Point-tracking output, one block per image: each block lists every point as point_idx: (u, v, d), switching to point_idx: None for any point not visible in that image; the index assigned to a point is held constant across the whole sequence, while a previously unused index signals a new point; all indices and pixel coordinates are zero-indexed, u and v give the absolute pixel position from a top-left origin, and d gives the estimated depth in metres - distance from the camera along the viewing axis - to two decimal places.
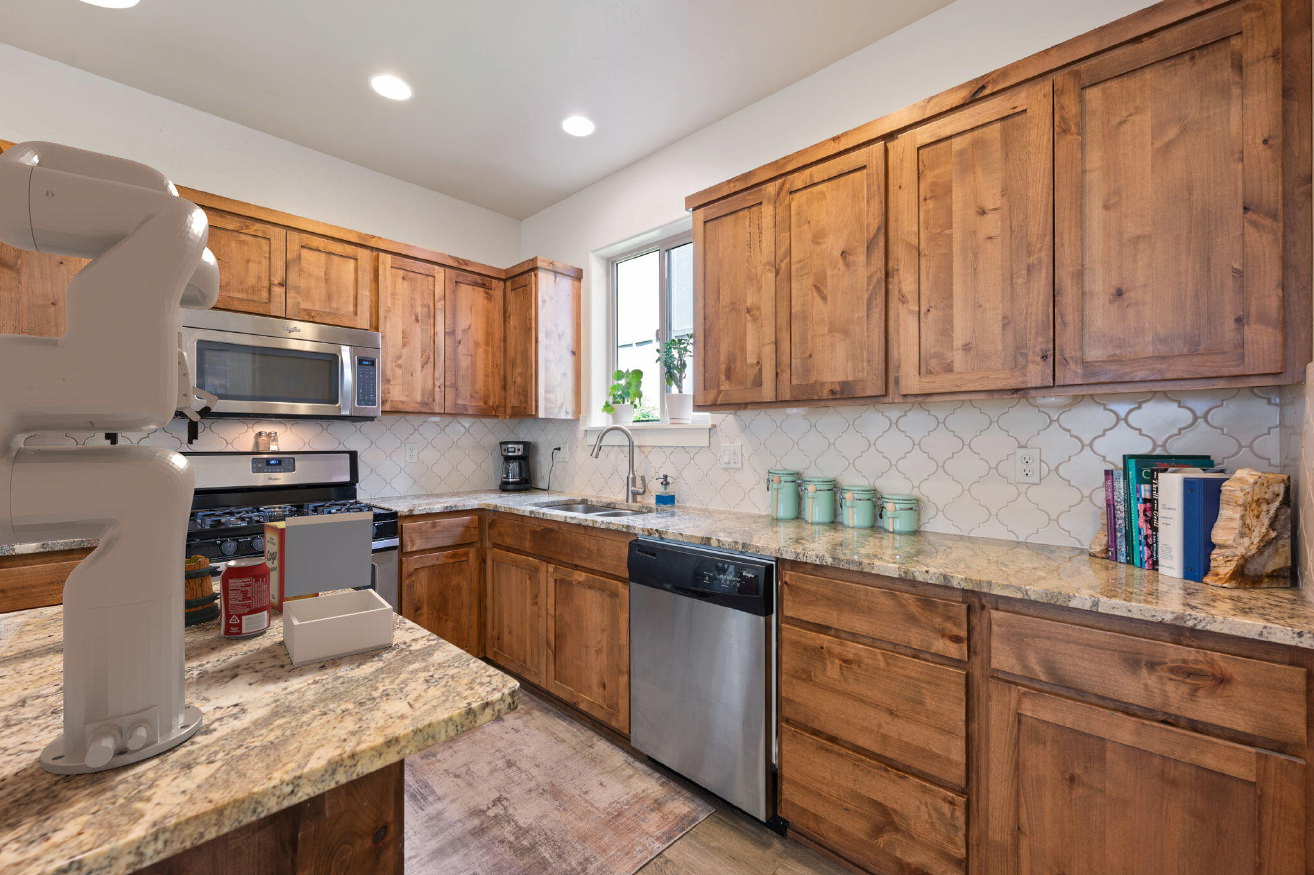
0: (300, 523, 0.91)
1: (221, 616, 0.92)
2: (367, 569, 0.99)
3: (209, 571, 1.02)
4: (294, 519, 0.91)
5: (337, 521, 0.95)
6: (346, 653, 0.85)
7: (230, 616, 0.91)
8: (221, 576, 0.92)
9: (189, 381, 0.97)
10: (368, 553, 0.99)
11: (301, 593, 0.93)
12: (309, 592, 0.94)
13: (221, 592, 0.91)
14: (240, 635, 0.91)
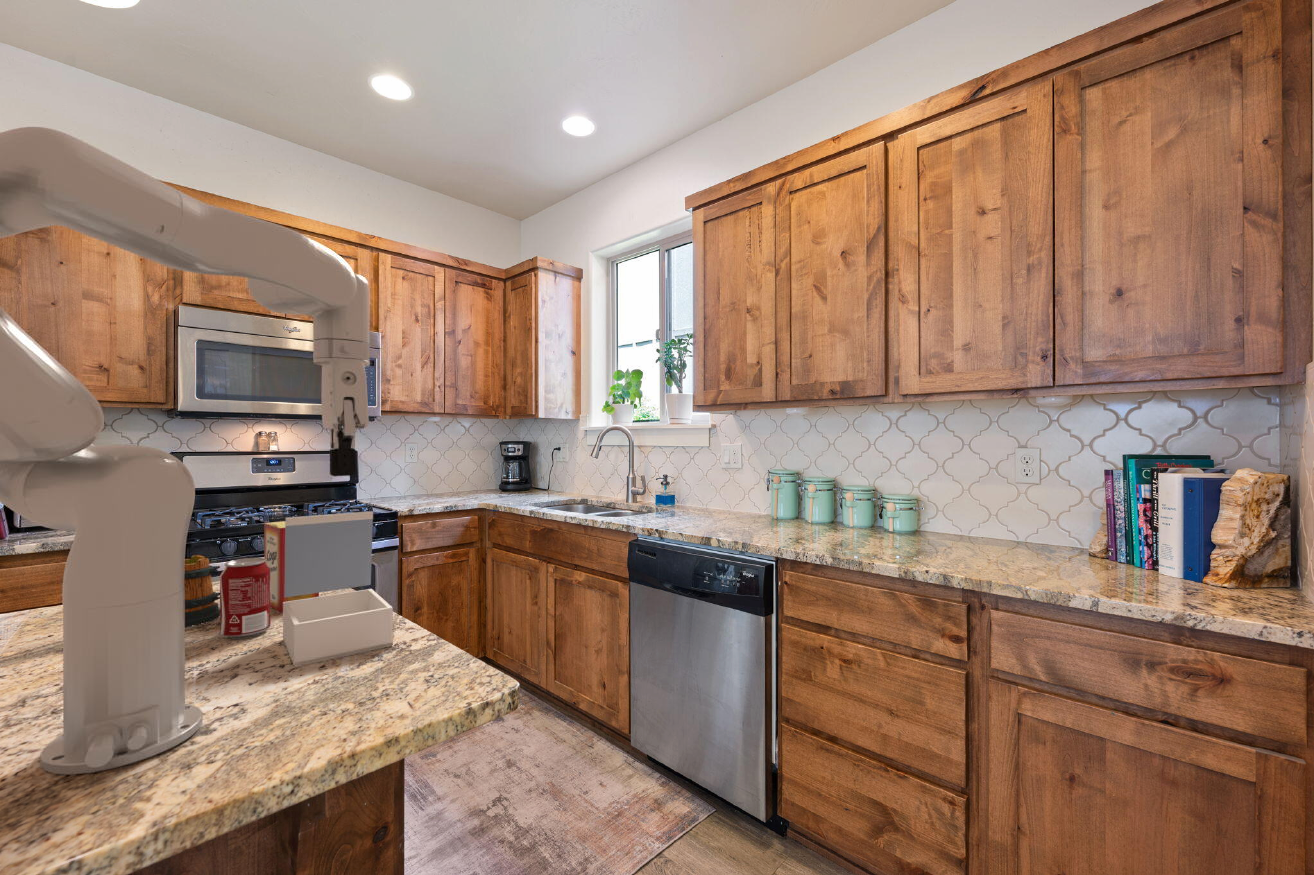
0: (300, 523, 0.91)
1: (221, 616, 0.92)
2: (367, 569, 0.99)
3: (209, 571, 1.02)
4: (294, 519, 0.91)
5: (337, 521, 0.95)
6: (346, 653, 0.85)
7: (230, 616, 0.91)
8: (221, 576, 0.92)
9: None
10: (368, 553, 0.99)
11: (301, 593, 0.93)
12: (309, 592, 0.94)
13: (221, 592, 0.91)
14: (240, 635, 0.91)
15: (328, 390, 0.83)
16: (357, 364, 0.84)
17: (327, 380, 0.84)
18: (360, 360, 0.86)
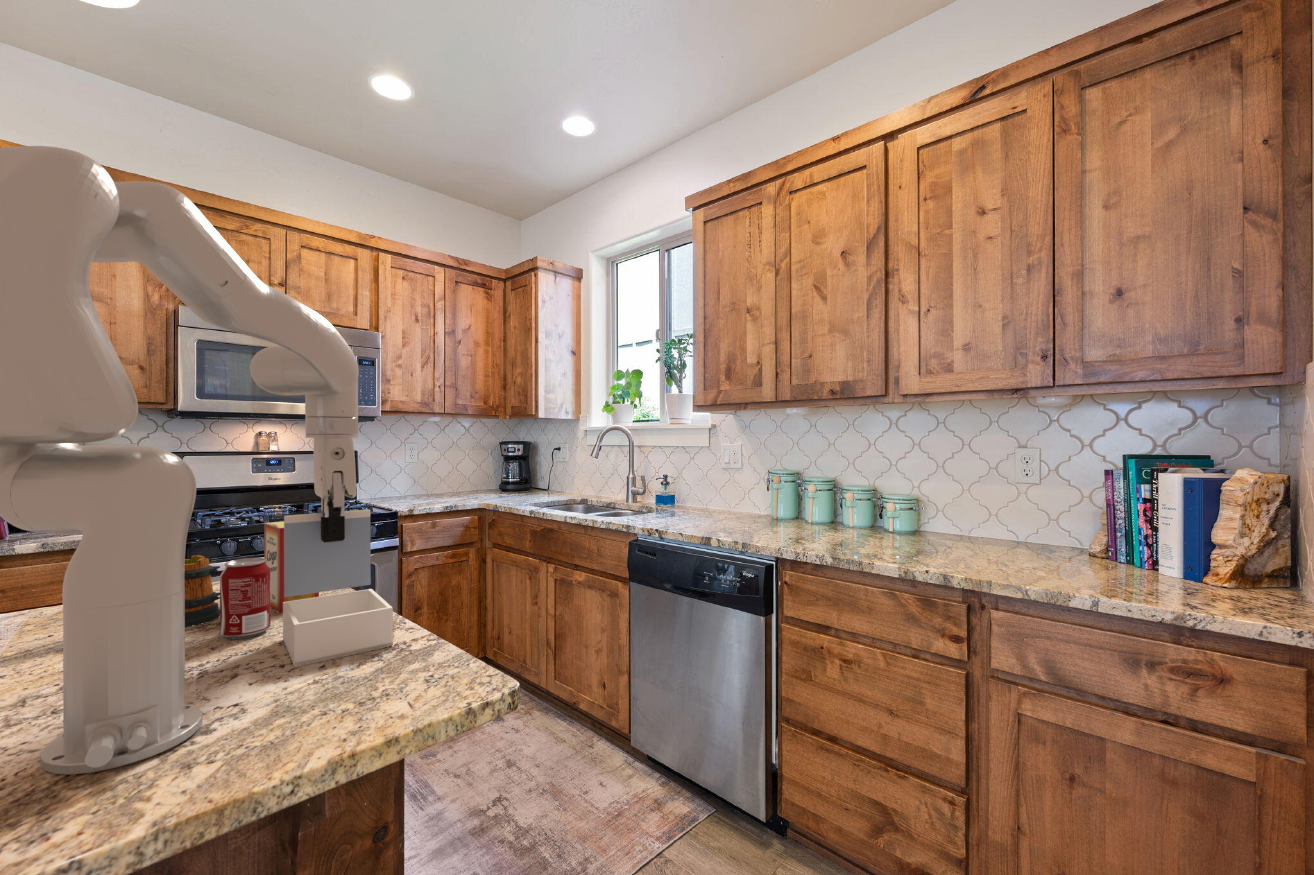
0: (298, 521, 0.93)
1: (221, 616, 0.92)
2: (366, 568, 0.99)
3: (209, 571, 1.02)
4: (292, 517, 0.92)
5: None
6: (346, 653, 0.85)
7: (230, 616, 0.91)
8: (221, 576, 0.92)
9: None
10: (367, 552, 0.99)
11: (301, 593, 0.93)
12: (309, 592, 0.94)
13: (221, 592, 0.91)
14: (240, 635, 0.91)
15: (319, 464, 0.90)
16: (346, 439, 0.91)
17: (318, 455, 0.90)
18: (349, 435, 0.92)
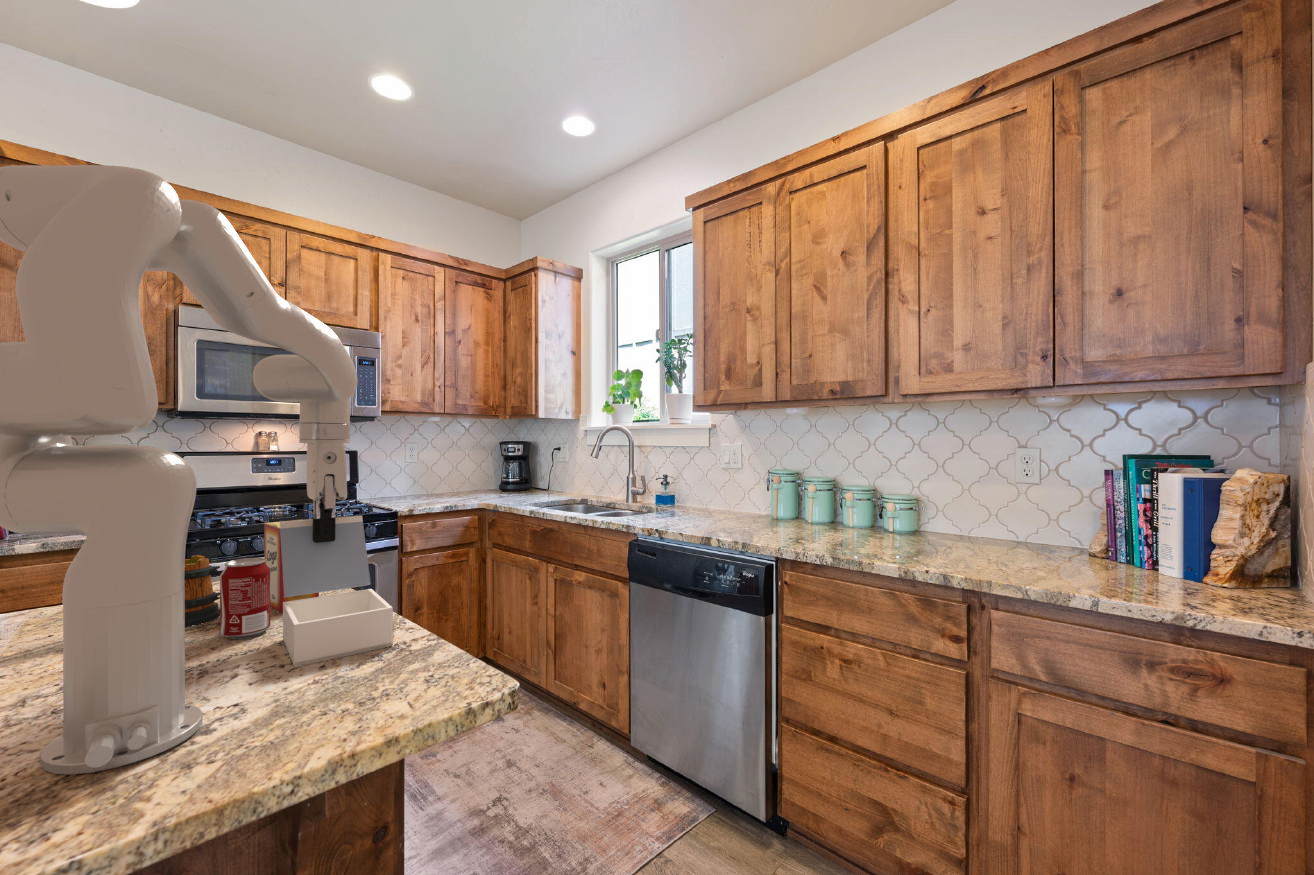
0: (294, 526, 0.98)
1: (221, 616, 0.92)
2: (365, 568, 1.00)
3: (209, 571, 1.02)
4: (288, 522, 0.97)
5: None
6: (346, 653, 0.85)
7: (230, 616, 0.91)
8: (221, 576, 0.92)
9: None
10: (363, 553, 1.01)
11: (300, 592, 0.93)
12: (309, 591, 0.94)
13: (221, 592, 0.91)
14: (240, 635, 0.91)
15: (311, 468, 0.95)
16: (337, 444, 0.96)
17: (311, 459, 0.95)
18: (341, 440, 0.97)
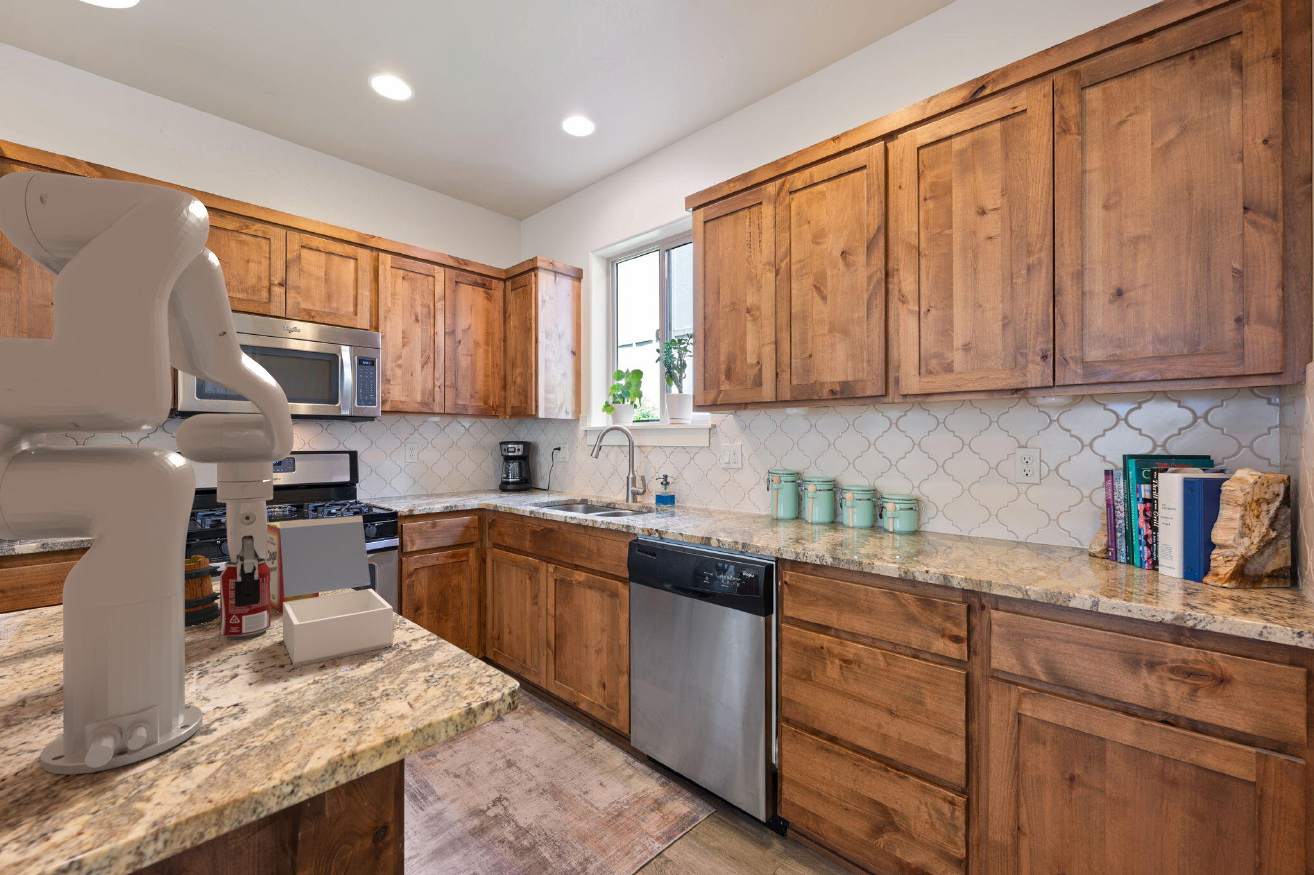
0: (294, 526, 0.98)
1: (221, 616, 0.92)
2: (365, 568, 1.00)
3: (209, 571, 1.02)
4: (288, 522, 0.97)
5: (329, 524, 1.01)
6: (346, 653, 0.85)
7: (230, 616, 0.91)
8: (221, 576, 0.92)
9: None
10: (363, 553, 1.01)
11: (300, 592, 0.93)
12: (309, 591, 0.94)
13: (221, 592, 0.92)
14: (240, 635, 0.91)
15: (229, 529, 0.91)
16: (256, 504, 0.92)
17: (228, 519, 0.91)
18: (261, 498, 0.93)
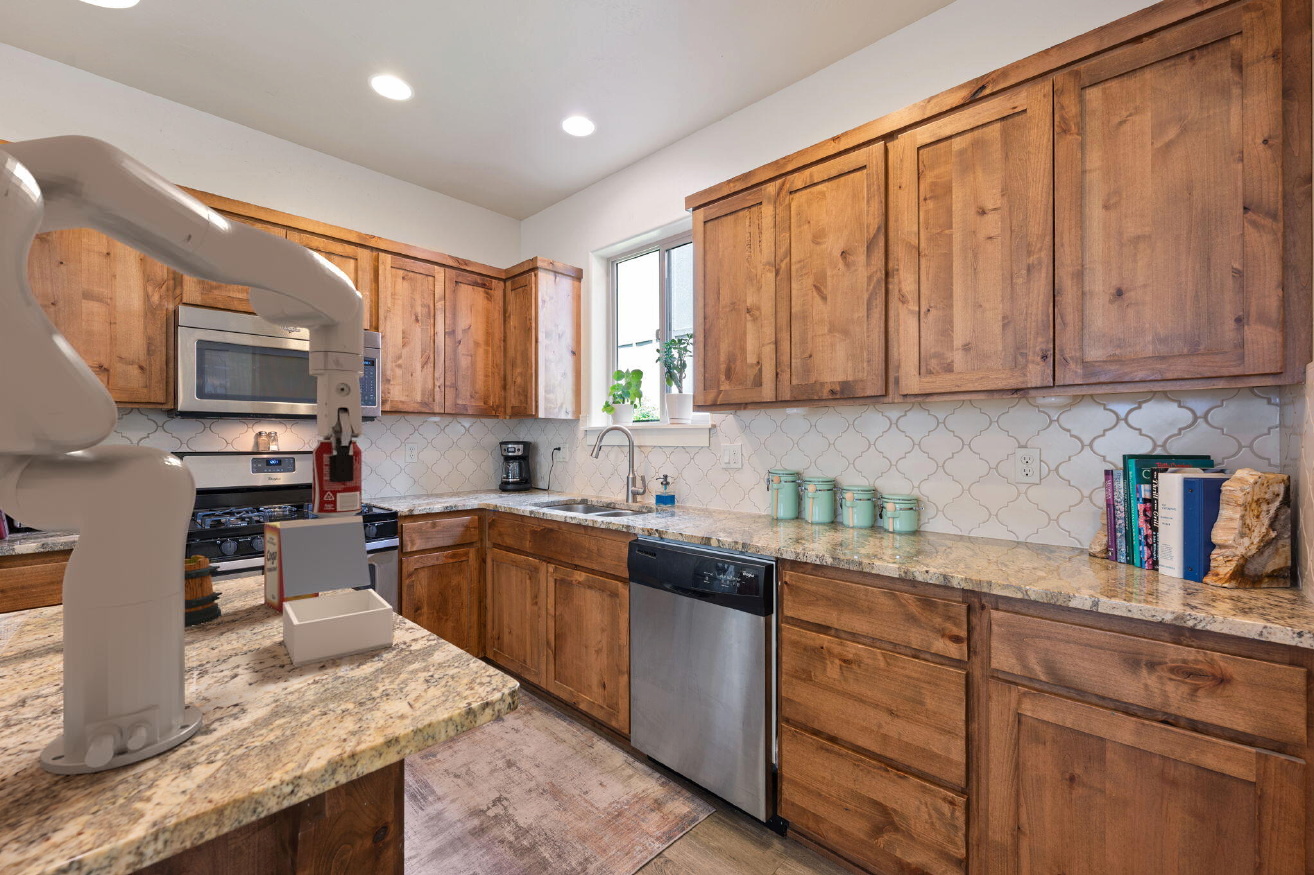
0: (294, 526, 0.98)
1: (315, 493, 0.87)
2: (365, 568, 1.00)
3: (209, 571, 1.02)
4: (288, 522, 0.97)
5: (329, 524, 1.01)
6: (346, 653, 0.85)
7: (324, 493, 0.87)
8: (315, 451, 0.87)
9: None
10: (363, 553, 1.01)
11: (300, 592, 0.93)
12: (309, 591, 0.94)
13: (315, 468, 0.87)
14: (335, 513, 0.87)
15: (323, 401, 0.86)
16: (351, 376, 0.87)
17: (322, 391, 0.87)
18: (354, 372, 0.89)
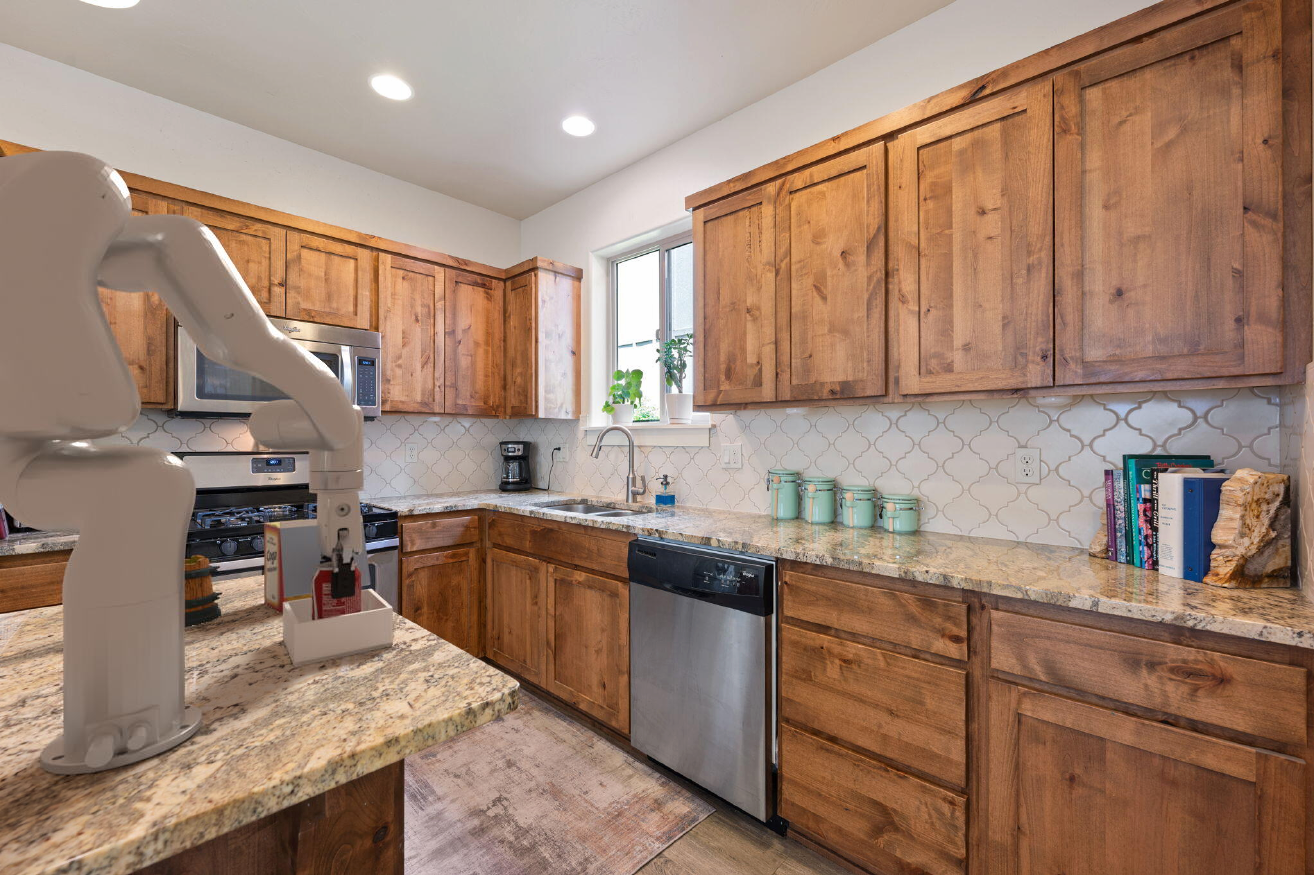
0: (294, 526, 0.98)
1: None
2: (365, 568, 1.00)
3: (209, 571, 1.02)
4: (288, 522, 0.97)
5: None
6: (346, 653, 0.85)
7: None
8: (314, 580, 0.87)
9: None
10: (363, 553, 1.01)
11: (300, 592, 0.93)
12: (309, 591, 0.94)
13: (314, 597, 0.87)
14: None
15: (323, 521, 0.86)
16: (351, 495, 0.88)
17: (322, 511, 0.87)
18: (354, 489, 0.89)
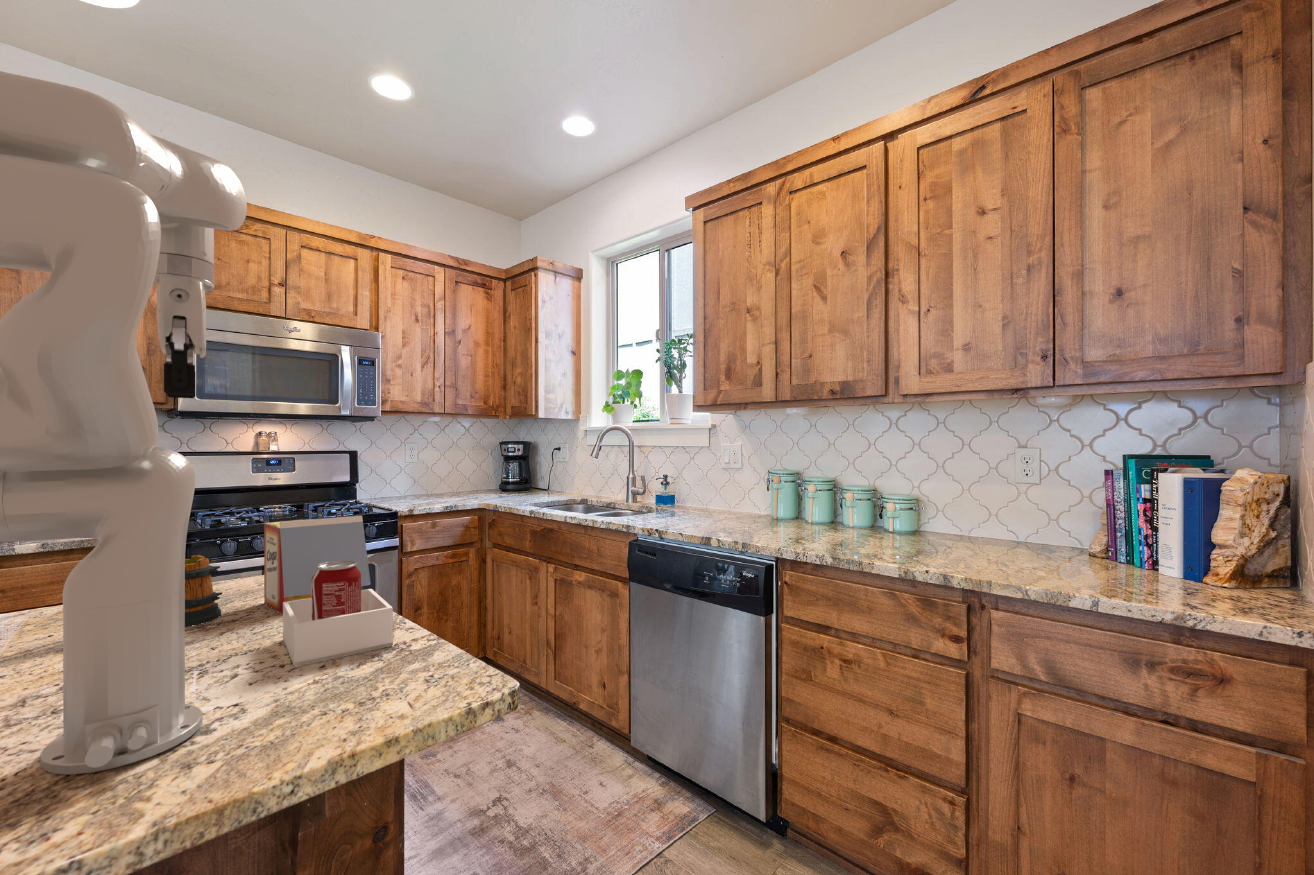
0: (294, 526, 0.98)
1: None
2: (365, 568, 1.00)
3: (209, 571, 1.02)
4: (288, 522, 0.97)
5: (329, 524, 1.01)
6: (346, 653, 0.85)
7: None
8: (314, 580, 0.87)
9: None
10: (363, 553, 1.01)
11: (300, 592, 0.93)
12: (309, 591, 0.94)
13: (314, 597, 0.87)
14: None
15: (157, 308, 0.77)
16: (191, 281, 0.78)
17: (157, 298, 0.77)
18: (197, 279, 0.79)
